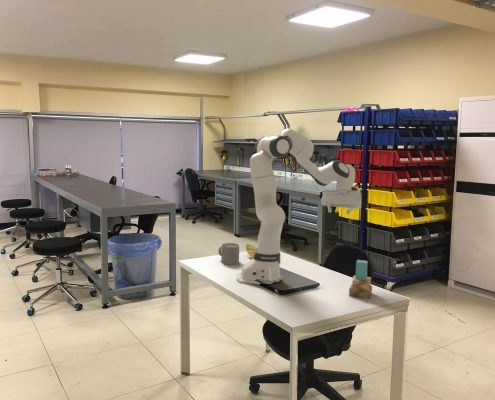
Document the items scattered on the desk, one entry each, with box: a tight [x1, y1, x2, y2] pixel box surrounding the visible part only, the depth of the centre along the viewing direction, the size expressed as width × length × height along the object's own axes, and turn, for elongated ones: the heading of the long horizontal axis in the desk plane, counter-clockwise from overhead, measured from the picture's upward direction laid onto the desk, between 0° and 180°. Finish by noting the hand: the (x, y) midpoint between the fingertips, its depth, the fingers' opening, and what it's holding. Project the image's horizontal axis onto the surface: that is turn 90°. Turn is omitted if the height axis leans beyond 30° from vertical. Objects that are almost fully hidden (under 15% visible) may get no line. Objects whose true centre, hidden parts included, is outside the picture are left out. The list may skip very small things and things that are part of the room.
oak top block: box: [351, 274, 372, 291], centre depth 211 cm, size 8×8×4 cm
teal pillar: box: [355, 259, 369, 280], centre depth 210 cm, size 4×4×8 cm
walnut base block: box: [348, 284, 373, 300], centre depth 211 cm, size 9×9×4 cm
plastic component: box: [245, 243, 258, 259], centre depth 270 cm, size 20×7×10 cm
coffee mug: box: [217, 242, 240, 265], centre depth 260 cm, size 13×10×10 cm
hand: (338, 212), depth 231 cm, fingers open, 8 cm apart
